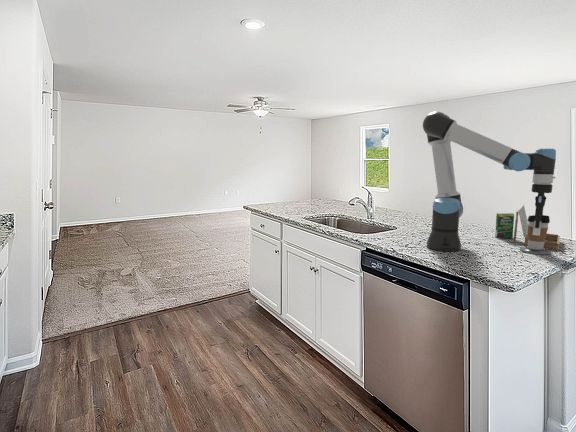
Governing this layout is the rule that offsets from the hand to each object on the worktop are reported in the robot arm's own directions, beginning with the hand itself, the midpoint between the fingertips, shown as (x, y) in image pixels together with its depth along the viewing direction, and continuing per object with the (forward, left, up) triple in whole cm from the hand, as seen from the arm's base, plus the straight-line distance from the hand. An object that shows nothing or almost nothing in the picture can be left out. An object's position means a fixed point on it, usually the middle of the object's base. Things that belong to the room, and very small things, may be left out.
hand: (536, 233), depth 168 cm
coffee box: (+17, +24, -9) cm, 31 cm away
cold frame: (+18, +8, -8) cm, 22 cm away
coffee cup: (0, 0, -7) cm, 7 cm away
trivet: (0, 0, -8) cm, 8 cm away
